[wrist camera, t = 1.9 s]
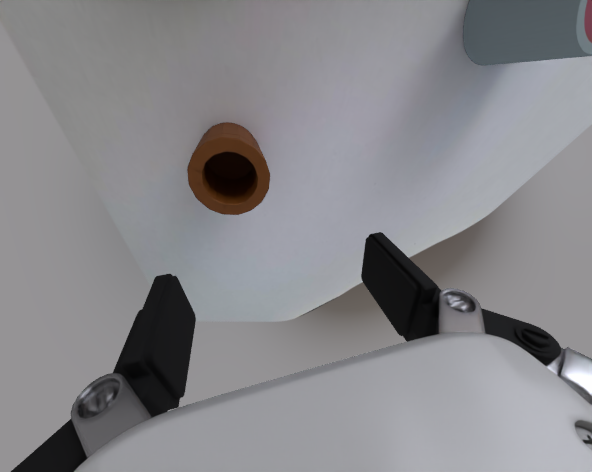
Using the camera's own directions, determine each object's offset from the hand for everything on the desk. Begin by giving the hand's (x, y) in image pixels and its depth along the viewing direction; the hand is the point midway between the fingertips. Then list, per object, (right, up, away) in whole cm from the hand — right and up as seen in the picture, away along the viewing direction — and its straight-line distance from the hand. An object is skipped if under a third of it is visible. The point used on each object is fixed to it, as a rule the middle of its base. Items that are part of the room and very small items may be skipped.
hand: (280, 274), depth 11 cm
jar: (-7, +11, +14) cm, 19 cm away
